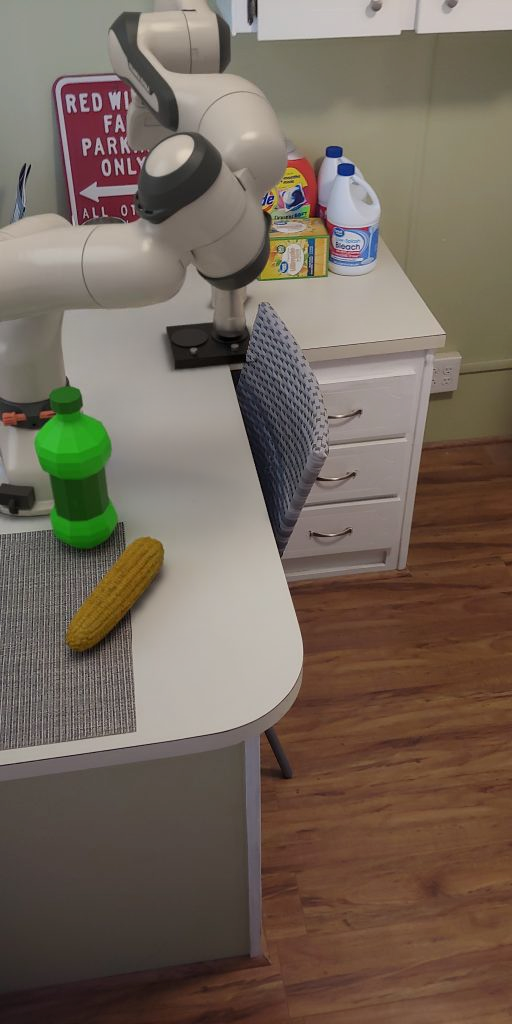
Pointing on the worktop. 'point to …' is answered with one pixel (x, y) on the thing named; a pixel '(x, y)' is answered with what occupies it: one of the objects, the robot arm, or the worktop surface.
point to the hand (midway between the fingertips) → (188, 172)
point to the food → (115, 593)
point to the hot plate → (205, 346)
